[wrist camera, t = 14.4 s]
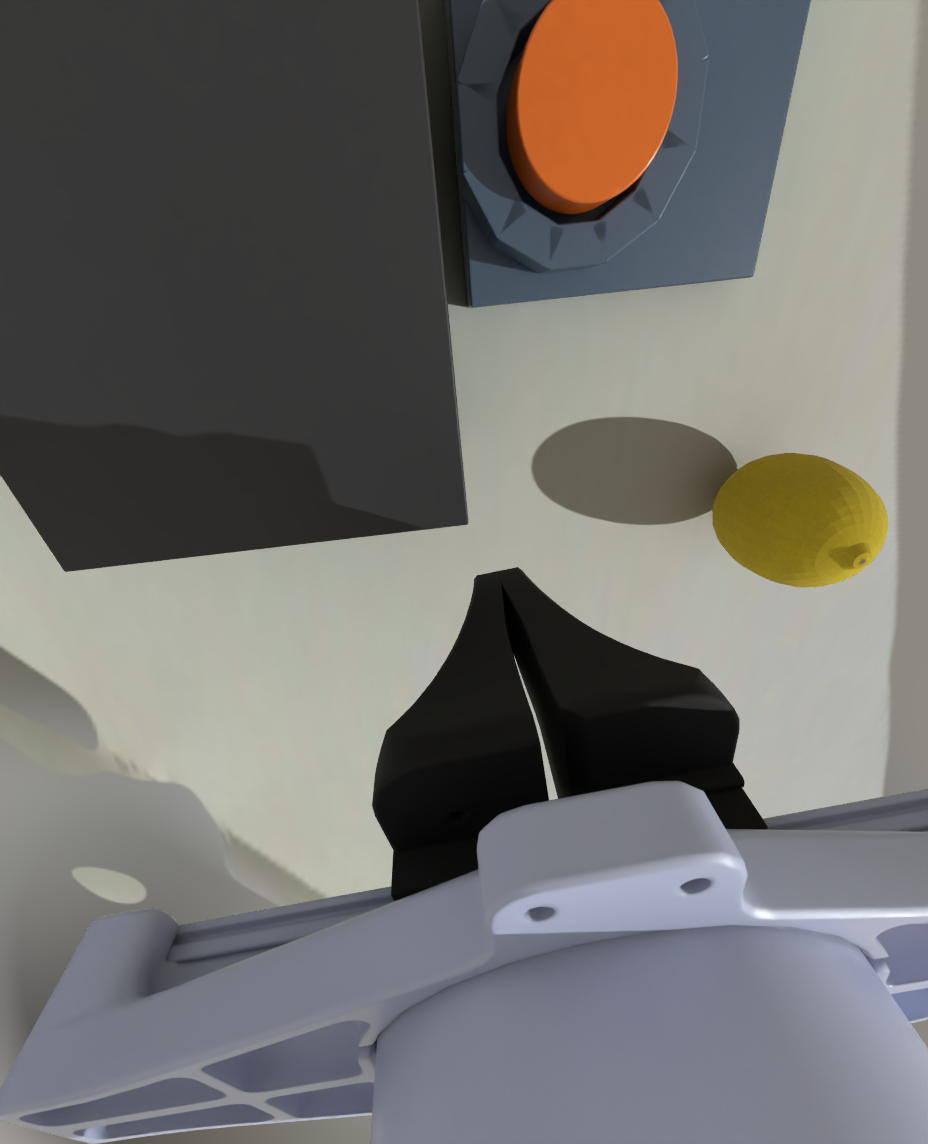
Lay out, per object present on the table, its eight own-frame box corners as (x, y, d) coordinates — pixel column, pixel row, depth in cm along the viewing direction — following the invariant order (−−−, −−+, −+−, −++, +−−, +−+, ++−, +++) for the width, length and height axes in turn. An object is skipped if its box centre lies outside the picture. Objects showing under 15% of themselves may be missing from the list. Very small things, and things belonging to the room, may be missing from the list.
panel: (464, 308, 18) (471, 307, 15) (436, -32, 13) (440, -130, 10) (728, 279, 18) (787, 273, 15) (791, -66, 14) (894, -172, 11)
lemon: (708, 429, 22) (840, 484, 15) (808, 441, 22) (978, 499, 15) (667, 530, 24) (763, 616, 17) (757, 538, 25) (883, 624, 18)
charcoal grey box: (-8, 20, 13) (-542, -339, 6) (404, -19, 14) (379, -411, 6) (191, 480, 21) (64, 572, 13) (453, 450, 21) (468, 524, 14)
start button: (508, 221, 14) (518, 211, 13) (502, 19, 12) (513, -23, 11) (641, 207, 14) (666, 195, 13) (659, 3, 12) (693, -40, 11)
